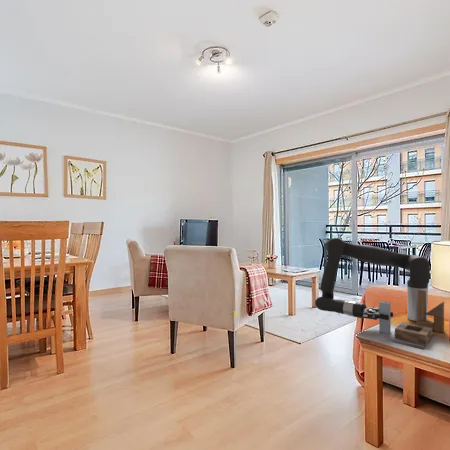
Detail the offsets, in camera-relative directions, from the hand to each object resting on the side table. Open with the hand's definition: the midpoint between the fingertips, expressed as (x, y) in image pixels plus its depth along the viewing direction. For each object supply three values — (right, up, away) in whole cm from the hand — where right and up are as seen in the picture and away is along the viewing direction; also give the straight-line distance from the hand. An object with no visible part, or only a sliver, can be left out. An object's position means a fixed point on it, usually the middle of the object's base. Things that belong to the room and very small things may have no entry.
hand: (390, 316), depth 149 cm
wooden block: (+21, -8, +4) cm, 23 cm away
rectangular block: (-2, -8, +2) cm, 8 cm away
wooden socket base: (+7, -8, -6) cm, 12 cm away
